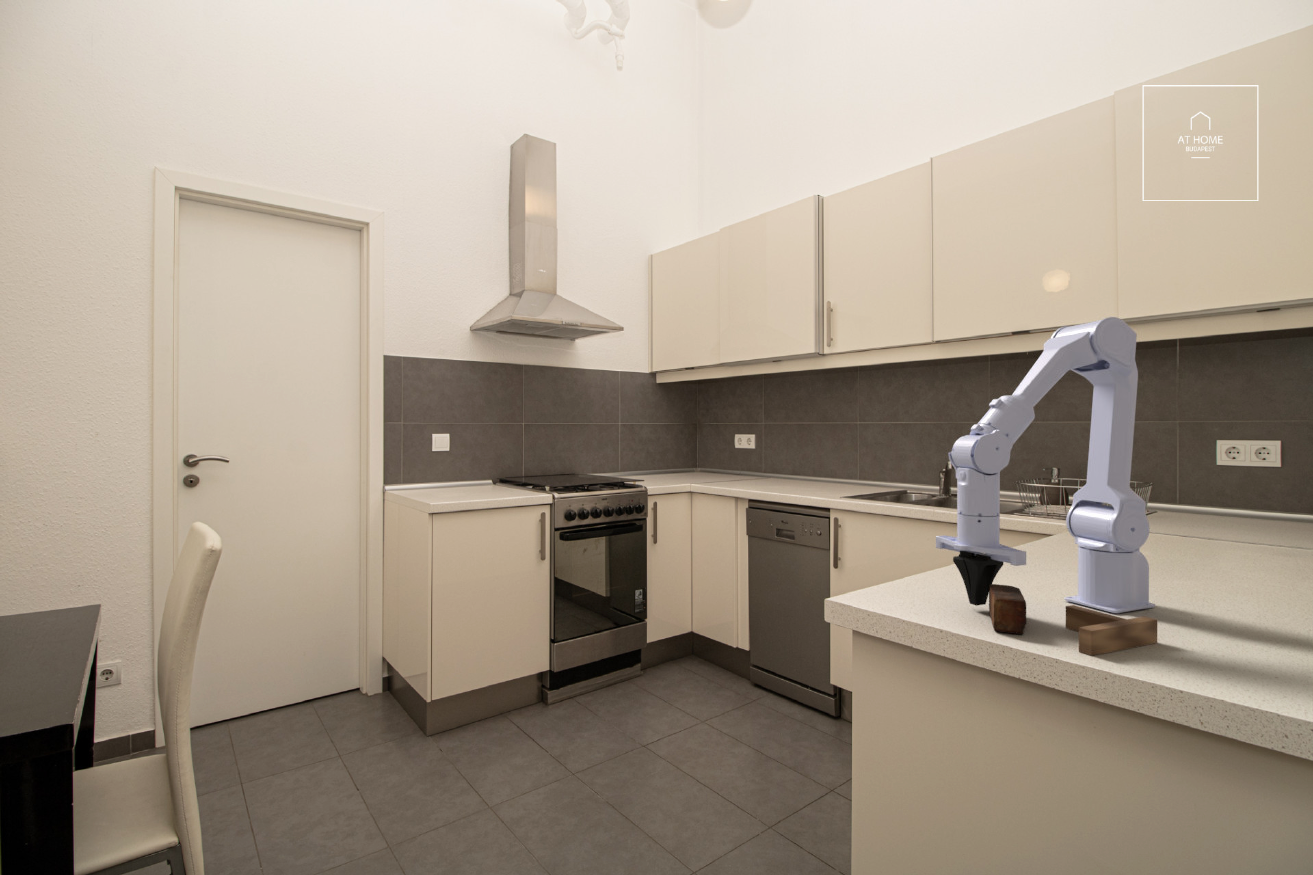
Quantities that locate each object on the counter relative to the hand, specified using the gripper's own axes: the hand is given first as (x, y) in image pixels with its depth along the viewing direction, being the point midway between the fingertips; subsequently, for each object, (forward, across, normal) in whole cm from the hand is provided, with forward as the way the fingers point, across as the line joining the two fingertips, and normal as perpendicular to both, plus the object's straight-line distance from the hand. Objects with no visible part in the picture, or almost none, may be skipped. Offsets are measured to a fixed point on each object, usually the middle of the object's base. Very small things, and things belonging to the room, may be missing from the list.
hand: (977, 603), depth 94 cm
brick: (+1, +6, -2) cm, 6 cm away
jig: (+1, +15, +3) cm, 15 cm away
